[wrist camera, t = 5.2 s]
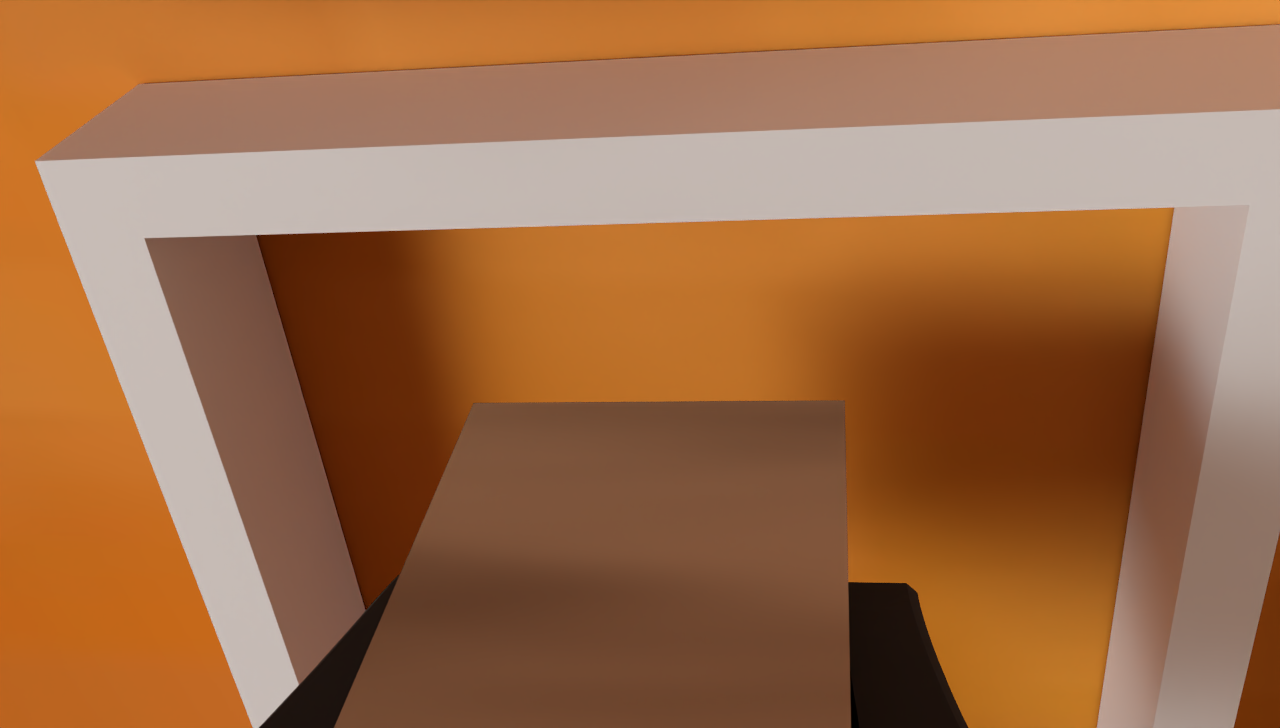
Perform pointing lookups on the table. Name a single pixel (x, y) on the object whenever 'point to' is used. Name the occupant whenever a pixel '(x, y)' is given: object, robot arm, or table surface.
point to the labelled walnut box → (624, 573)
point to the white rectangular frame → (693, 192)
